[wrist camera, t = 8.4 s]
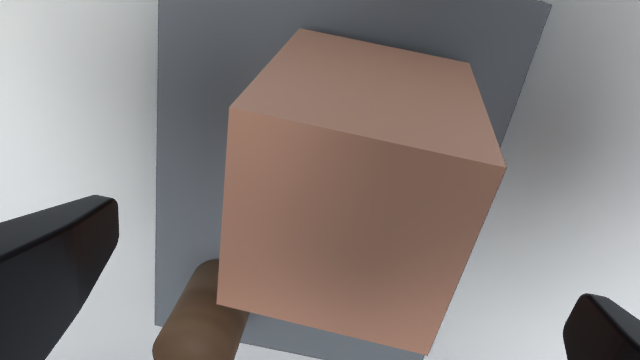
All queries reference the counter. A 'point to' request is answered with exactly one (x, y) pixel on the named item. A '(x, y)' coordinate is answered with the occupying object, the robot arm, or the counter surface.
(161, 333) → the walnut post
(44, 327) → the robot arm
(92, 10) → the counter surface
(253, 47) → the board
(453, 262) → the terracotta colored cuboid
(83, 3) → the counter surface
